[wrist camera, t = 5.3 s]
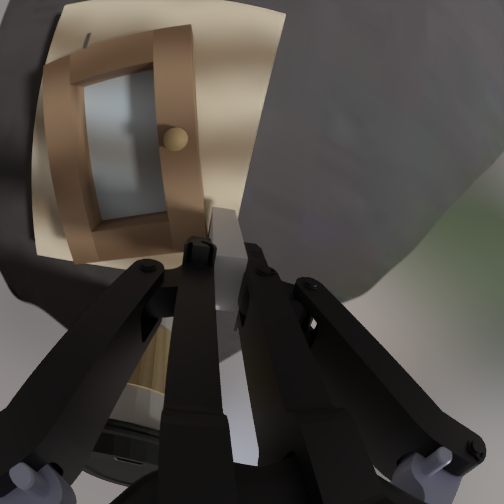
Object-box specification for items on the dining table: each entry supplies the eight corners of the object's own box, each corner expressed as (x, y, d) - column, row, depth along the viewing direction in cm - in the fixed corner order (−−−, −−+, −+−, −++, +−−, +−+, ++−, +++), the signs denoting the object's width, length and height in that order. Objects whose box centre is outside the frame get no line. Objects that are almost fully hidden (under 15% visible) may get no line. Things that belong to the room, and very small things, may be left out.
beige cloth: (75, 12, 10) (64, 4, 9) (279, 23, 14) (286, 13, 12) (47, 244, 19) (36, 255, 17) (223, 268, 22) (224, 282, 20)
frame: (63, 70, 11) (36, 64, 8) (193, 38, 12) (190, 19, 9) (89, 245, 17) (69, 270, 14) (207, 231, 18) (208, 255, 15)
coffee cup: (100, 343, 24) (68, 470, 11) (105, 267, 21) (35, 422, 7) (187, 365, 27) (191, 496, 14) (213, 297, 23) (229, 466, 10)
